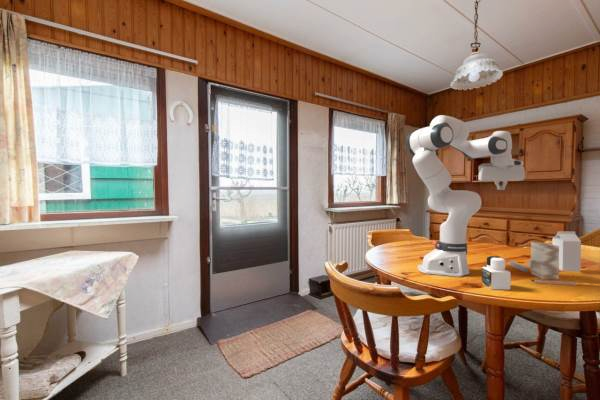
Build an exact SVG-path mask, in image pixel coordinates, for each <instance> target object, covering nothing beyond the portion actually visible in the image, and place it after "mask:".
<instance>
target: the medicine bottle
mask: <svg viewBox="0 0 600 400" xmlns="http://www.w3.org/2000/svg"><path fill="white" fill-rule="evenodd" d="M511 275H512V274H511V271H509V270H507V269H506V259H505V258H504V257H500V256H495V255H490V256H487V257H486V266H482V267H481V284H482V285H483V286H485V287H487V288H489V289H490V290H498V291H499V290H501V291H502V290H503V291H510V290H511V281H512V280H511Z"/></svg>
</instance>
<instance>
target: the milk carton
mask: <svg viewBox="0 0 600 400" xmlns="http://www.w3.org/2000/svg"><path fill="white" fill-rule="evenodd" d="M551 241H552V243H551V244H553V245H556V246H559V271H561V272H564V271H565V272H579V273H581V268H582V267H581V264H582V263H581V262H582V256H581V255H582V240H581V239H580V238H579V237H578V235H577V234H576V231H572V230H571V231H567V230H566V231H563V230H560V231H559V230H558V231H557V233H556V234H555V236H553V237H552V240H551Z"/></svg>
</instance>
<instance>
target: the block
mask: <svg viewBox="0 0 600 400" xmlns="http://www.w3.org/2000/svg"><path fill="white" fill-rule="evenodd" d="M530 262H531V267H530V274H531V275H534V276H535V277H537V278H540V279H541V280H560V277H559V276H560V273H559V272H560V270H559V246H556V245H553V244H552V243H548V242H530Z"/></svg>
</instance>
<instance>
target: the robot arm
mask: <svg viewBox="0 0 600 400" xmlns="http://www.w3.org/2000/svg"><path fill="white" fill-rule="evenodd" d="M469 135H470V127H469V125H468V123H466V122H465V121H464V120H461V119H459V118H457V117H454V116H449V115H444V114H441V115H436V116H435V117H434V118H433V119H432V120H431V122H430V123H429V126H424V127H422V128H419V129H417V130H413V131H412V132H410V133H409V134H408V135H407V136H406V139H405V143H406V144H405V145H406V148H407V149H408V152H409V153H410V154H411V155H412V156H413V157H412V160H411V161H412V164H413V167H414V169H415V171H416V172H417V175H418V176H419V178H420V179H421V181H422V182H423V183H424V185H425V186H426V188H427V191H428V192H429V195H428V198H427V205H428V208H429V209H431V211H432V210H433V211H434V212H435V211H436V212H438V213H445V214H448V215H447V216H448V217H447V218H446V220H445V221H444V222H442V223H441V224H440V225H439V240H438V241H436V240H433V241H432V245H433V246H435V247H434V249H432V250H431V251H429V252H428V253H426V254H425V255H424V256H423V260H422V263H421V264H418V265H417V269H418V271H419V272H421V273H424V274H425V275H426V274H427V275H437V276H447V277H449V276H450V277H456V278H457V277H458V278H462V277H463V276H467V275H470V273H471V272H470V269H469V266H468V265H469V264H468V258H467V255H468V243H467V227H468V223H469V221H470V220H471V218H472V216H474V214H476V213H477V212H479V211H480V209H481V207H482V197H481V196H480V194H479V193H477V192H476V191H472V190H471V191H470V190H465V189H464V190H463V189H460V190H459V189H457V190H454V189H451V187H450V185H451V183H452V180H453V179H452V174H450V173H449V171H448V170H447V168H446V166H445V165H444V164H443V162H442V160H441V159H440V158H439V157H438V156H437V152H436V150H438V149H444V148H447V147H451V148H454V149H455V150H456V151H459V152H461V154H463V156H464V157H466V158H467V159H469V160H474V159H478V158H485V157H490V163H481V164H479V165H478V176H477V178H478V179H477V180H478V181H479V182H494V184H495V186H496V190H497V191H498V190H501V191H502V190H503V191H505V189H506V186H507V184H508V181H509V182H510V181H511V182H512V181H513V182H514V181H515V182H516V181H518V182H519V181H525V179H526V171H525V167H524V161H523V160H518V159H515V158H512V157H513V155H512V150H513V149H512V148H513V141H512V135H511V132H509V131H508V130H496V131H493V133H492V134H491V135H489V136H487V137H484V138H483V137H482V138H477V139H471V140H468V138H469ZM500 182H502V185H500Z"/></svg>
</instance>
